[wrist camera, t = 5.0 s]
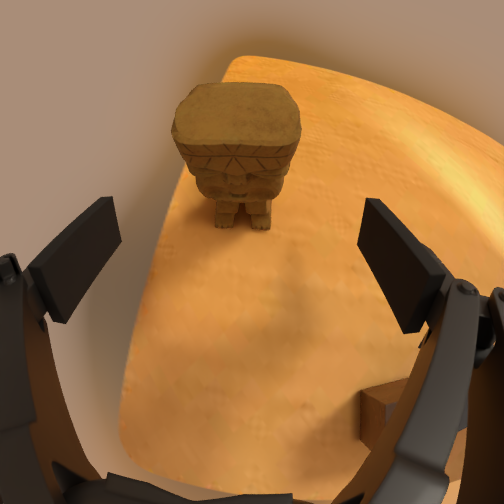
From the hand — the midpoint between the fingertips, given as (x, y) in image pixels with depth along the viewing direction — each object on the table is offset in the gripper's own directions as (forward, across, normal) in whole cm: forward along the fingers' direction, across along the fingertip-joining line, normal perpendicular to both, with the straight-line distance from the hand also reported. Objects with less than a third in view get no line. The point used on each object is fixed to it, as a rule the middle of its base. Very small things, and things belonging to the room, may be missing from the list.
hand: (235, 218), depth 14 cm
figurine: (+14, 0, +5) cm, 15 cm away
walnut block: (-1, -15, +20) cm, 25 cm away
